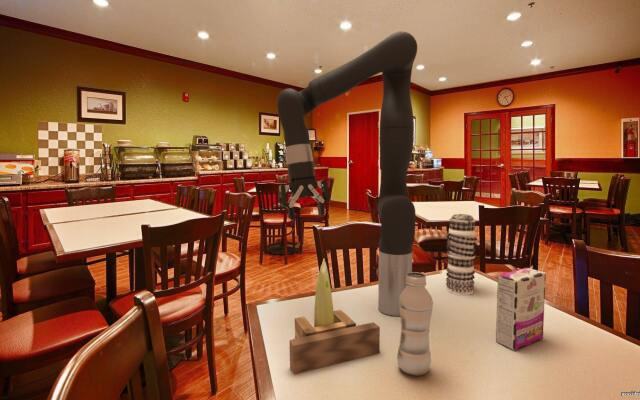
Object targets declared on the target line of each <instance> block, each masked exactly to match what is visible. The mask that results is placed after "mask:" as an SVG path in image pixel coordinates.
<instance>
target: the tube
mask: <svg viewBox="0 0 640 400" xmlns="http://www.w3.org/2000/svg"><path fill="white" fill-rule="evenodd" d="M325 260H326V259H325V258H323V260H322V264H321V266H320V268H319V269H320V270H318V271H319V272H318V275H317V277H316V278H317V280H316V286H315V287H316V288H315V293H314V294H315V296H314V308H313V309H314V310H313V311H314V315H313V316H314V317H313V327H319V326H324V325H329V324H334V313H333V311H334V303H333V296H332V295H333V293H332V289H331V283H330V281H331V280H330V277H329V271H328V267H327V263H326V261H325Z"/></svg>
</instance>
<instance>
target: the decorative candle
mask: <svg viewBox="0 0 640 400" xmlns="http://www.w3.org/2000/svg"><path fill="white" fill-rule="evenodd" d="M448 220H449V228H448V231H446V239H447V241H446V250H448V251H446V256H447V257H448V262H447V268H446V273H445V274H446V276H447V277H446V278H445V281H446V282H445V286H446V289H445V290H446V291H447V292H448V293H450V292H451V293H450V294H454V295H458V296H471V295H473V294H474V293H473V292H475V291H474V289H475V286H474V285H475V280H474V279H475V273H476V272H475V269H474V267H475V266H474V259H475V258H476V256H477V254H476V253H475V252H476V251H477V249H476V248H475V247H474V246H477V245H478V244H477V242H476V241H478V238H477V237H476V236H475V235H476V229H475V228H476V222H477V220H476V219H475V218H474V217H473V215H471V214H466V213H465V214H463V213H458V214H457V213H456V214H453V215H452V216H451V217H450V218H448ZM472 293H473V294H472ZM470 294H471V295H470Z"/></svg>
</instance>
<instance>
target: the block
mask: <svg viewBox="0 0 640 400" xmlns="http://www.w3.org/2000/svg"><path fill="white" fill-rule="evenodd" d="M333 313H334V324H329V325H324V326H319V327H314V325H312V323H311V322H310V321H309V319H308V318H307V317H306V316H300V317H299V316H298V317H295V318H294V339H296V338H301V337H306V336H311V335H316V334H320V333H325V332H330V331H335V330H339V329H344V328H349V327H354V326H357V323H356V322H355V321H354V320H353V319H352V318H351V317H350V316H348V315H347V313H345V311H343V310H342V309H337V310H333Z"/></svg>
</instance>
